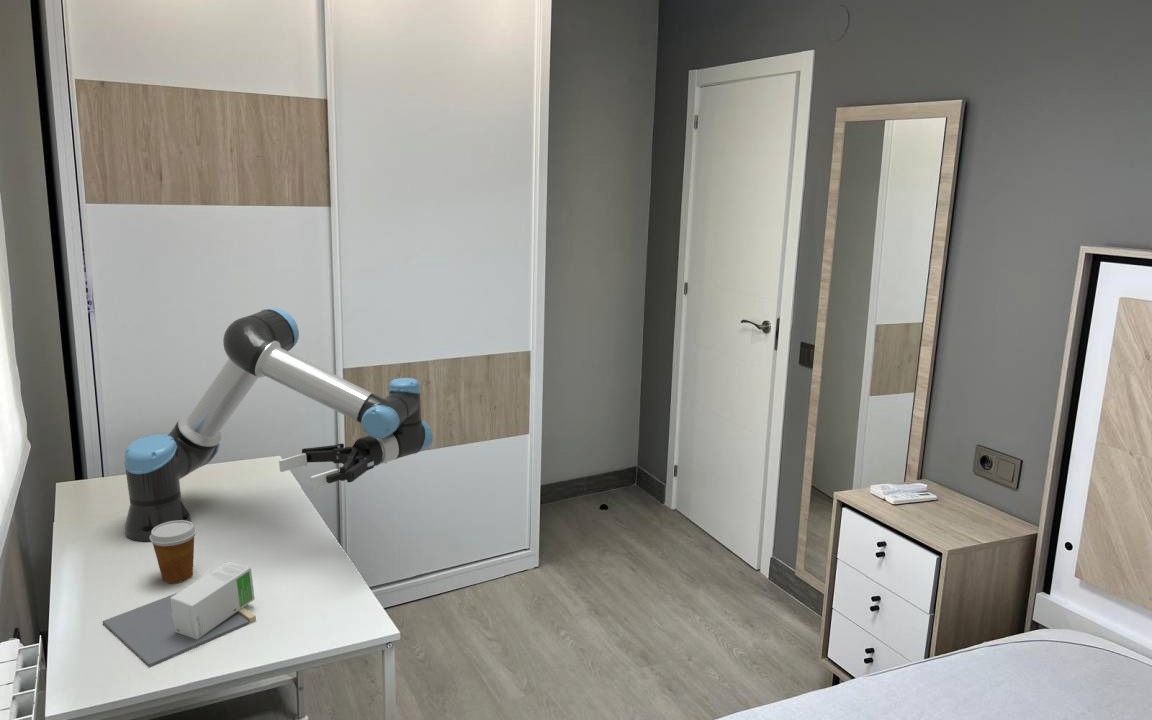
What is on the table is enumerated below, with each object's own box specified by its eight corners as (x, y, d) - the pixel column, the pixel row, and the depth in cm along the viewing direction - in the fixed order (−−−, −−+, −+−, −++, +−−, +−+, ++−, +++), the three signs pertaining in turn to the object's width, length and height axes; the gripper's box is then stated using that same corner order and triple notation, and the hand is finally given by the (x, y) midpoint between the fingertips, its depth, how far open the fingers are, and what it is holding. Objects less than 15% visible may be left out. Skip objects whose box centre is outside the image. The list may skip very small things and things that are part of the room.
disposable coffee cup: (155, 591, 184) (149, 541, 181) (154, 571, 193) (148, 524, 190) (202, 581, 189) (197, 533, 186) (199, 563, 197) (194, 516, 194)
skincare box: (255, 599, 179) (198, 642, 166) (232, 591, 182) (174, 633, 168) (251, 565, 176) (192, 606, 163) (227, 558, 179) (167, 598, 165)
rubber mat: (103, 623, 172) (102, 618, 171) (205, 584, 187) (204, 579, 187) (149, 667, 158) (149, 661, 157) (256, 620, 174) (255, 615, 173)
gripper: (406, 478, 196) (327, 506, 181) (347, 451, 212) (269, 474, 197) (405, 448, 194) (324, 474, 179) (345, 423, 211) (266, 444, 195)
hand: (295, 474), depth 188 cm, fingers open, 13 cm apart
